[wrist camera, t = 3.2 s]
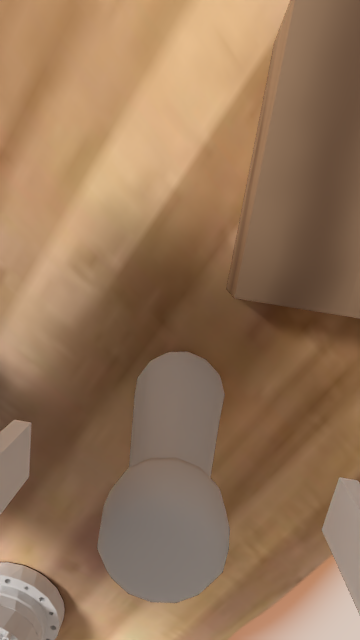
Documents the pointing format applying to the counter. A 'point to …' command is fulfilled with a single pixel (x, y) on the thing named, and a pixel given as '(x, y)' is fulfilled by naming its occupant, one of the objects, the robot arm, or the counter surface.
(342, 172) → the stand
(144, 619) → the counter surface
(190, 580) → the salt shaker
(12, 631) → the mechanical component
